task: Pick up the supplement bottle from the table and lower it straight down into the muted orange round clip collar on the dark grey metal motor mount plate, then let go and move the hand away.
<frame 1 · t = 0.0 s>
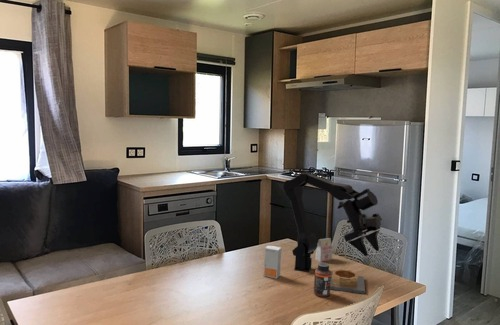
hand: (372, 253, 151), 15 cm above the table, tool tilted 35°, fingers open, 9 cm apart
supplement bottle: (321, 294, 149), on the table
skincare box: (271, 276, 164), on the table
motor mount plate: (344, 283, 159), on the table
white printed carton: (323, 260, 187), on the table
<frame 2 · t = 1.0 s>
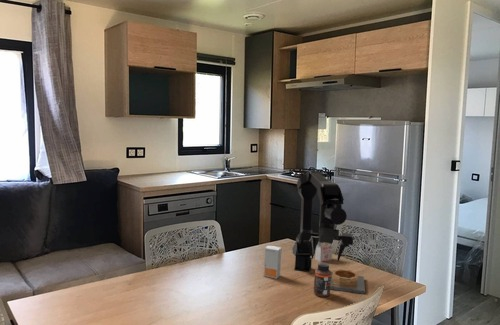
hand: (325, 259, 147), 13 cm above the table, tool pointing down, fingers open, 9 cm apart
nothing on the table moved.
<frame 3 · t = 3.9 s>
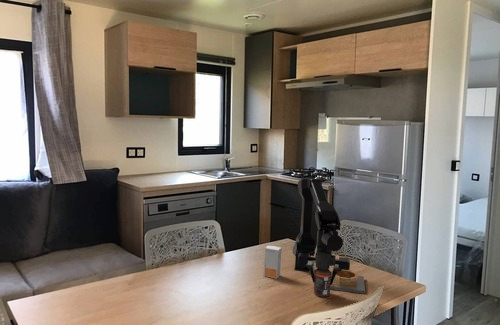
hand: (322, 283, 148), 4 cm above the table, tool pointing down, fingers closed on supplement bottle, 6 cm apart
supplement bottle: (321, 294, 149), on the table, touching gripper
everything else where it was.
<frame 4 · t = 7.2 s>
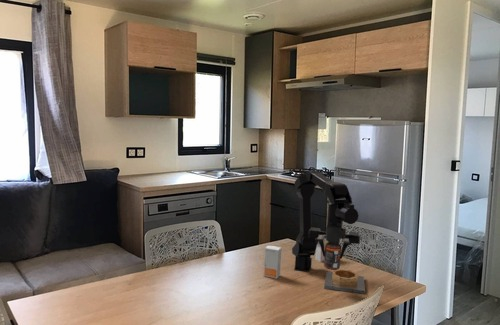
hand: (332, 257, 151), 13 cm above the table, tool pointing down, fingers closed on supplement bottle, 6 cm apart
supplement bottle: (331, 268, 152), point 8 cm above the table, touching gripper
everything else where it was.
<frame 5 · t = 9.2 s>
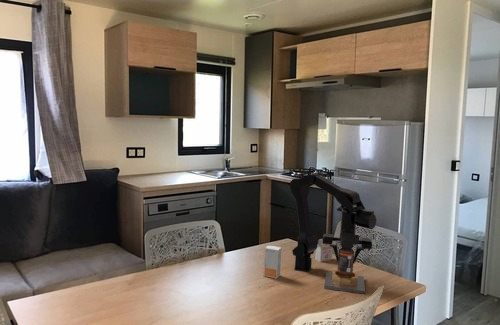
hand: (345, 262, 158), 9 cm above the table, tool pointing down, fingers closed on supplement bottle, 6 cm apart
supplement bottle: (344, 272, 159), point 5 cm above the table, touching gripper
everything else where it was.
when the fingers open (6 cm above the table, at t = 11.0 s): supplement bottle stays where it is, resting on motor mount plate.
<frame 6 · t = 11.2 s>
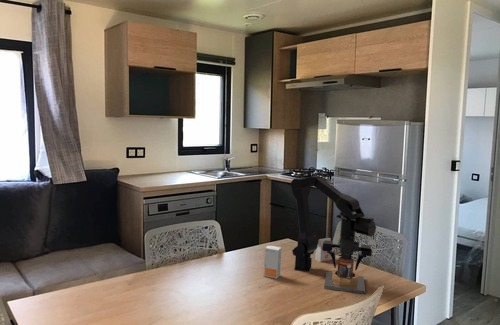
hand: (345, 269, 159), 6 cm above the table, tool pointing down, fingers open, 8 cm apart
supplement bottle: (344, 281, 159), point 1 cm above the table, touching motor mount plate
everything else where it was.
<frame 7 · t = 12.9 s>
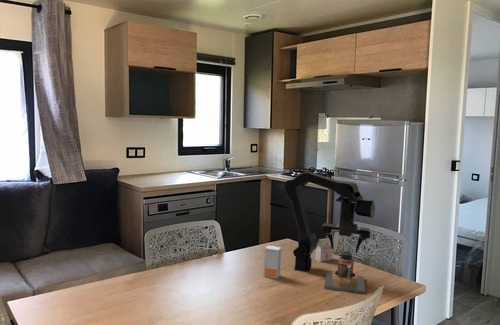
hand: (344, 251, 163), 12 cm above the table, tool pointing down, fingers open, 9 cm apart
nothing on the table moved.
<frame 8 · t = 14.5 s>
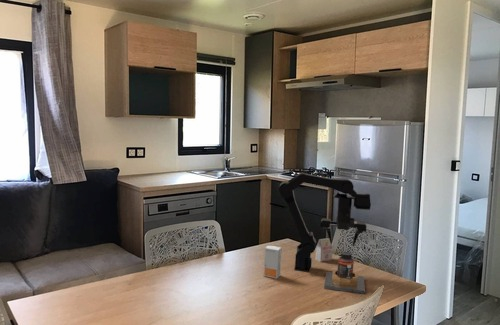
hand: (342, 244, 171), 12 cm above the table, tool pointing down, fingers open, 9 cm apart
nothing on the table moved.
at the end: supplement bottle 0.0 cm off-centre on the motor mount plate, point 1.0 cm above the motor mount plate's base; supplement bottle tilted 0°; the gripper is holding nothing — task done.
